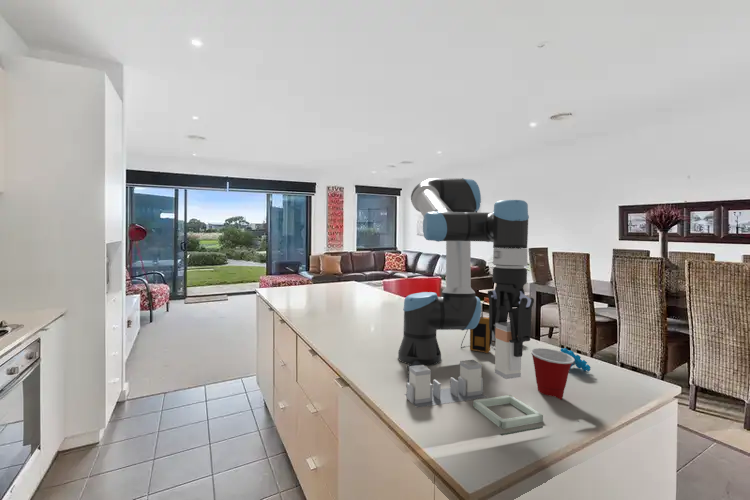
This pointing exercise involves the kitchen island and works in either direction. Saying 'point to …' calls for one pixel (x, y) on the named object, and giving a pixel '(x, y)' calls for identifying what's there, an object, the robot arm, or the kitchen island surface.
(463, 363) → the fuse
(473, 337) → the multimeter
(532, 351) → the plastic cup
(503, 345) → the block
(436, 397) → the block
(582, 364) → the blue knobby plastic piece
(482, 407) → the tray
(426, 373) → the grey block
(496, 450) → the kitchen island surface
